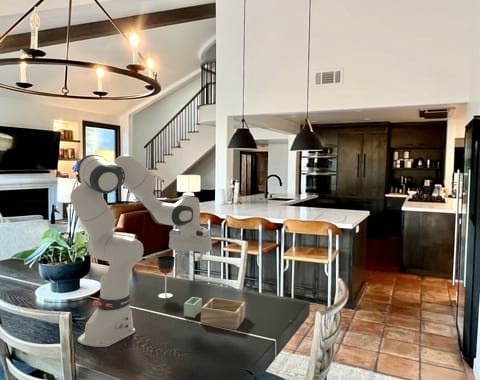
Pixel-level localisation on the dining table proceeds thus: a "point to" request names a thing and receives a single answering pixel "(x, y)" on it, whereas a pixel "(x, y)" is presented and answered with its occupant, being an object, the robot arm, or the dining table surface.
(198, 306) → the green crate
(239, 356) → the dining table surface
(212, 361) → the dining table surface
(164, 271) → the wineglass
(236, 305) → the birch crate
